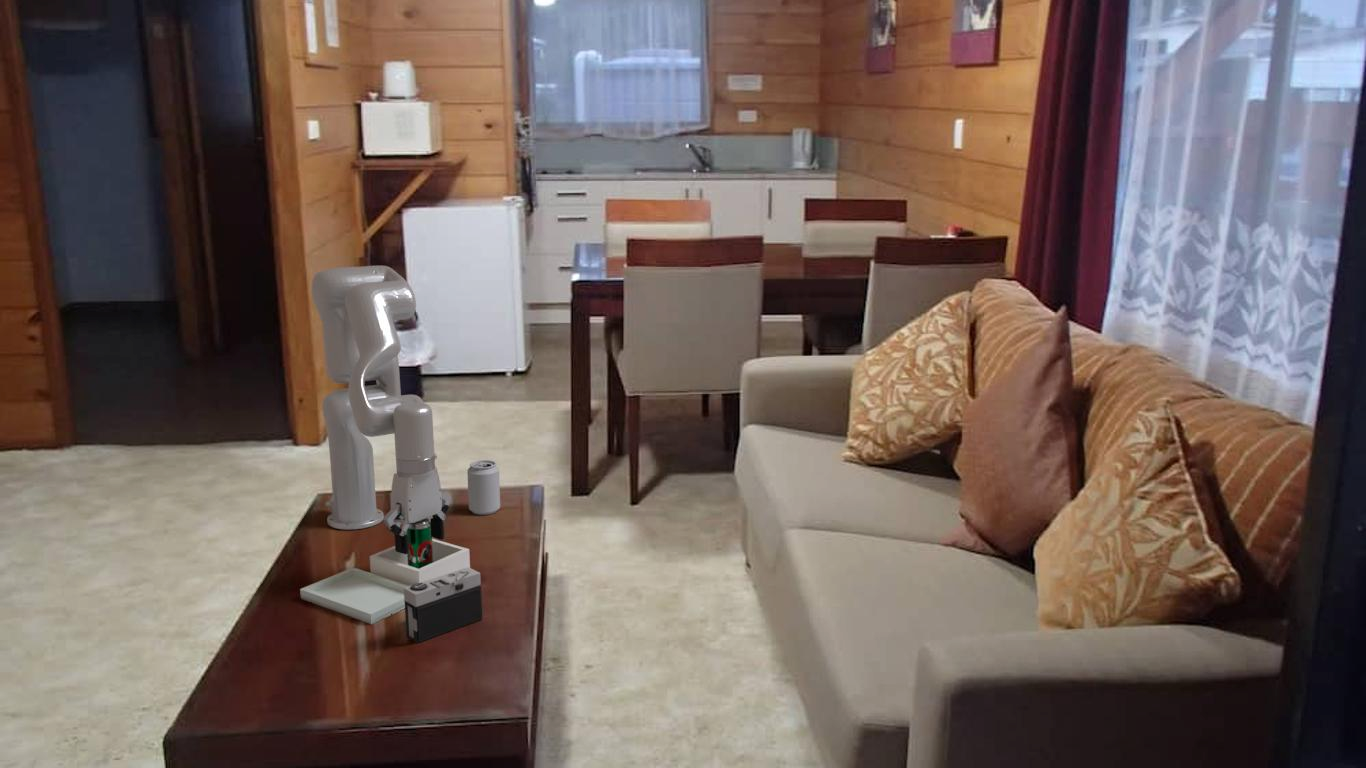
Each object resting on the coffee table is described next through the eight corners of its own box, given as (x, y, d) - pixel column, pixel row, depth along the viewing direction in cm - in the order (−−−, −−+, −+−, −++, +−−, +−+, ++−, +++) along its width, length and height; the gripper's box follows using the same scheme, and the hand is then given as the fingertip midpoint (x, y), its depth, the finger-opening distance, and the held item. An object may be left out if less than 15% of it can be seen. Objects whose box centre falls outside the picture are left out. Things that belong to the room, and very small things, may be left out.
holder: (371, 579, 218) (369, 556, 217) (422, 557, 230) (420, 535, 228) (420, 595, 211) (418, 571, 210) (470, 571, 222) (469, 549, 221)
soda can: (437, 571, 222) (434, 516, 220) (429, 581, 217) (426, 525, 215) (413, 570, 223) (410, 515, 220) (404, 579, 218) (401, 524, 215)
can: (497, 516, 254) (495, 468, 252) (465, 515, 255) (463, 467, 252) (503, 505, 262) (501, 458, 259) (472, 505, 262) (470, 458, 259)
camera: (459, 607, 206) (457, 558, 204) (484, 620, 200) (482, 570, 198) (394, 629, 196) (391, 578, 194) (418, 644, 191) (415, 592, 189)
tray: (300, 598, 209) (300, 589, 208) (353, 576, 219) (353, 567, 219) (371, 624, 198) (370, 614, 198) (423, 599, 209) (422, 590, 208)
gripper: (433, 451, 224) (437, 529, 227) (369, 472, 210) (374, 554, 213) (460, 457, 220) (463, 536, 223) (395, 478, 206) (401, 562, 209)
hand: (420, 545), depth 218 cm, fingers open, 9 cm apart
